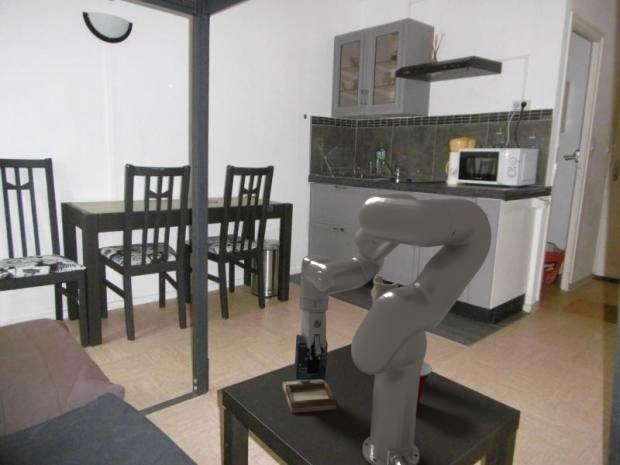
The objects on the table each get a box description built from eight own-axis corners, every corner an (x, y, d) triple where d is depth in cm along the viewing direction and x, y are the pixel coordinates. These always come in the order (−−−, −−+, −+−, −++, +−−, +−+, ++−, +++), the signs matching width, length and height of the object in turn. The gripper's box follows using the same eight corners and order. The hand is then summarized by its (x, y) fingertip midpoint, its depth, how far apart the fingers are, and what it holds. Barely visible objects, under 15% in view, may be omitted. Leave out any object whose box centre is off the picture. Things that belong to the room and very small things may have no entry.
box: (296, 380, 118) (298, 342, 116) (294, 370, 123) (296, 334, 122) (325, 380, 119) (328, 342, 117) (322, 370, 125) (324, 334, 123)
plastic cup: (429, 418, 116) (433, 375, 114) (387, 412, 118) (390, 369, 116) (427, 397, 126) (431, 357, 124) (388, 391, 128) (391, 352, 126)
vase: (361, 366, 144) (368, 275, 139) (384, 362, 147) (391, 273, 142) (375, 378, 136) (382, 282, 131) (399, 374, 139) (407, 280, 134)
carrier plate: (336, 409, 118) (336, 394, 118) (291, 412, 116) (291, 398, 115) (322, 382, 132) (323, 369, 132) (282, 385, 130) (282, 372, 129)
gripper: (336, 314, 110) (332, 382, 113) (319, 292, 127) (316, 352, 130) (306, 314, 109) (303, 384, 112) (293, 292, 125) (290, 353, 128)
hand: (310, 366), depth 121 cm, fingers closed on box, 5 cm apart
